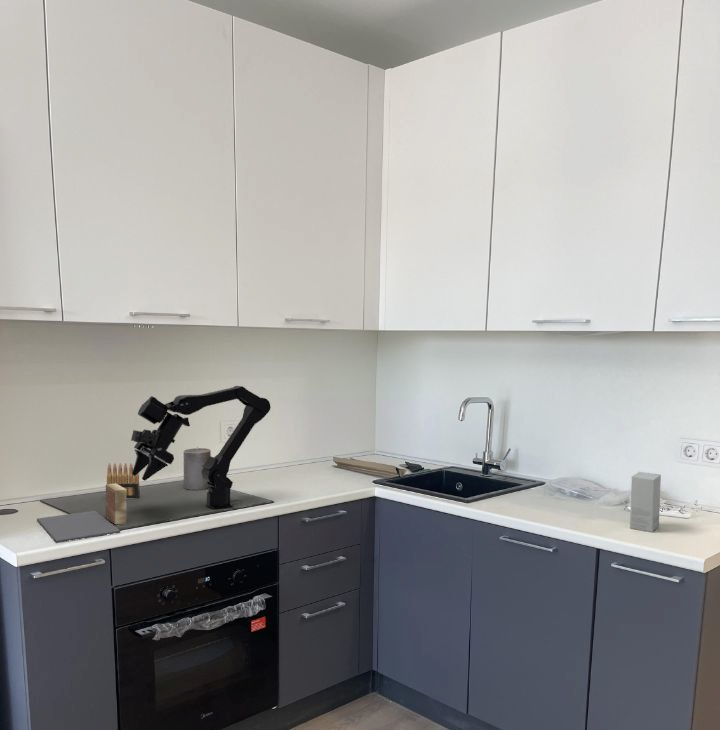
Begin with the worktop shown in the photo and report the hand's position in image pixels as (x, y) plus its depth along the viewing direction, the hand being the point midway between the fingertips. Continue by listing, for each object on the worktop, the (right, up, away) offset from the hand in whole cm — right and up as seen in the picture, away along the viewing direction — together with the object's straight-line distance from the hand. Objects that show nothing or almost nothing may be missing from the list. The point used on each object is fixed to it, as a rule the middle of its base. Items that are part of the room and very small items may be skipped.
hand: (138, 477), depth 186 cm
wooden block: (-5, -12, -3) cm, 14 cm away
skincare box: (+149, -14, -4) cm, 150 cm away
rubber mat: (-14, -12, -10) cm, 21 cm away
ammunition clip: (-14, -12, +24) cm, 30 cm away
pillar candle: (+6, -12, +42) cm, 44 cm away
